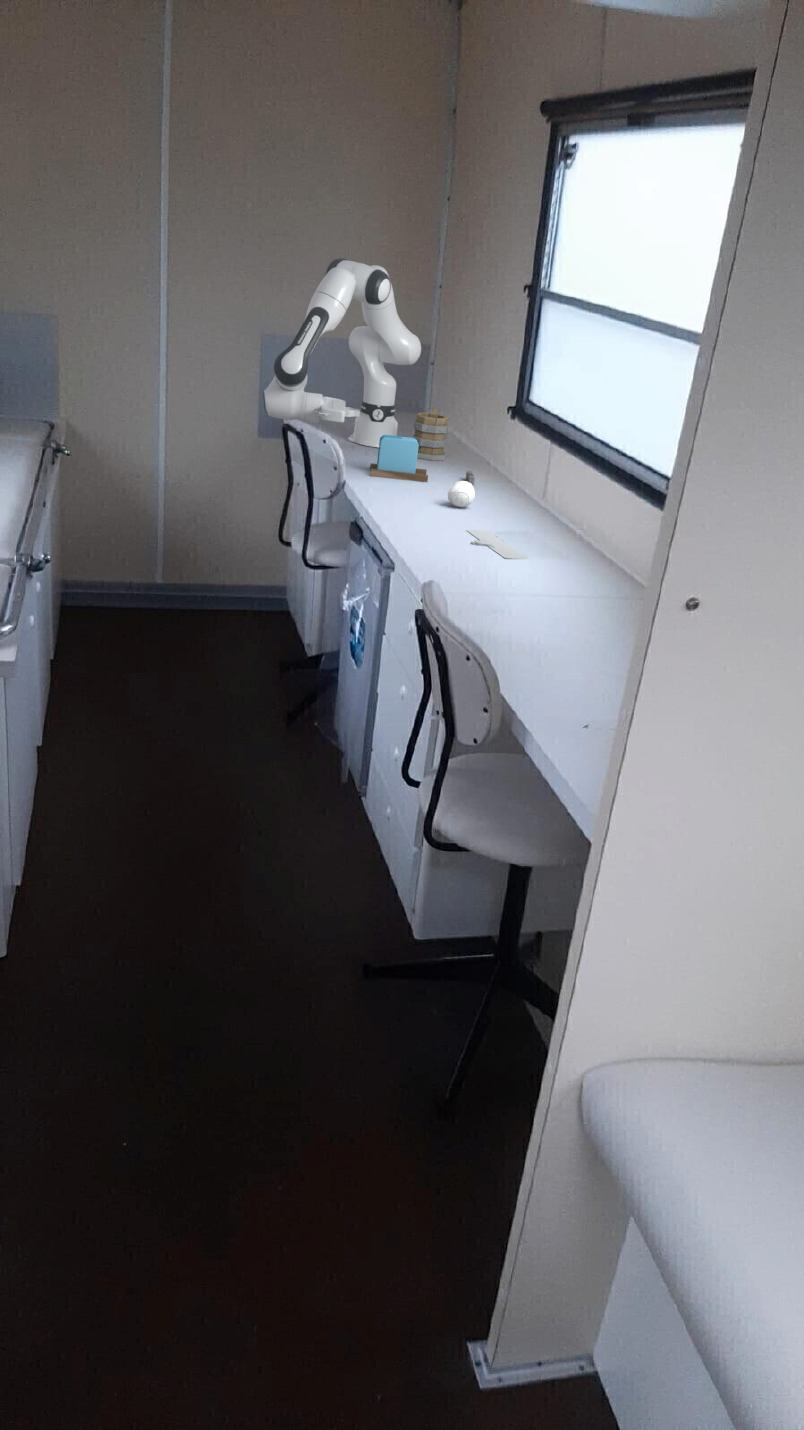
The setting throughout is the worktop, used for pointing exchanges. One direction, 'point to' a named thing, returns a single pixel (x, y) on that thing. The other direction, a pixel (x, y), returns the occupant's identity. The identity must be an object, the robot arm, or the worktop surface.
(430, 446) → the tankard
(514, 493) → the worktop surface
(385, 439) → the data package
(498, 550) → the white flat panel
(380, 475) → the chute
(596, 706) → the worktop surface
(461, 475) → the worktop surface
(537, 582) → the worktop surface
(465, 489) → the white ball
